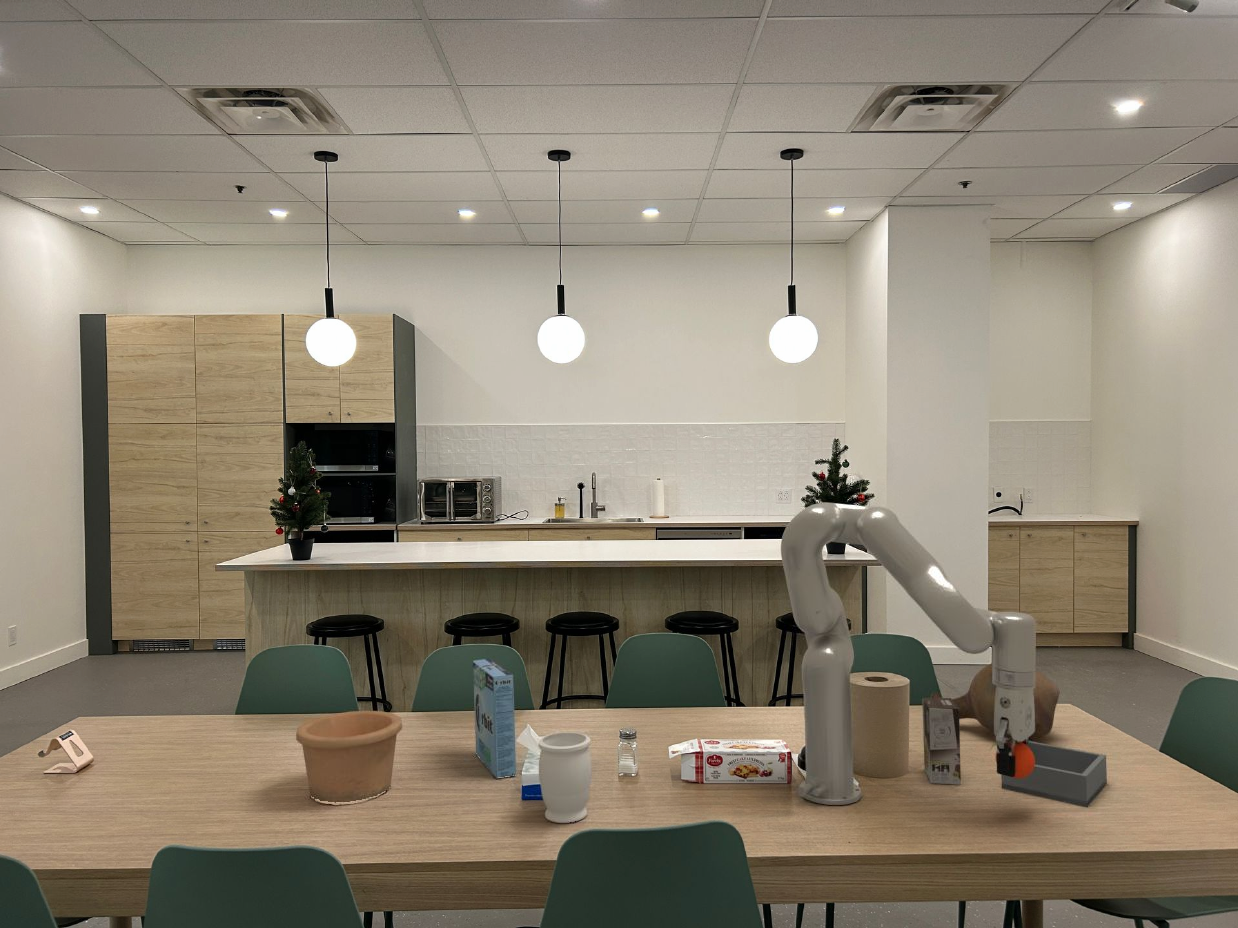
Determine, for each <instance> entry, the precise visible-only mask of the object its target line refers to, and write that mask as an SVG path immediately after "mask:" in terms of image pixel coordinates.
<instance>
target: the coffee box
mask: <svg viewBox="0 0 1238 928" xmlns="http://www.w3.org/2000/svg"><path fill="white" fill-rule="evenodd" d="M952 699H953V698H951V697H941V698H931V697H922V699H921V700H922V730H923V733H922V734H923V735H922V737H923V758H924V761H923V762H924V763H923V765H924V772H925V773H926V775H927V777H928V780H929V781H930V783H931V784H941V785H942V784H943V785H955V786H956V785H959V786H960V785H961V781H962V780H961V779H962V778H961V776H962V775H961V739H960V738H961V737H960V735H961V729H960V726H961V725H960V719H959V708H958V706H957V705H956V704H955V703H954V701H953V700H952Z"/></svg>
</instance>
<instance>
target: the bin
mask: <svg viewBox="0 0 1238 928" xmlns="http://www.w3.org/2000/svg"><path fill="white" fill-rule="evenodd" d="M1027 746H1028V747H1029V748H1030V750H1031V751H1032V752H1033V755H1034V757H1035V766H1034V769H1033V771H1032V772H1031V773H1030V774H1029V775H1028V776H1026V777H1024V778H1012V777H1009V776H1005V775H1001V774H1000V776H1001V778H1000V779H1001V789H1004V790H1007V791H1008V790H1009V791H1012V792H1016V793H1021V794H1026V795H1030V796H1035V797H1040V798H1045V799H1049V800H1053V801H1057V802H1062V803H1066V804H1070V805H1074V806H1075V805H1076V806H1080V807H1085V808H1088V807H1089V806H1090V805H1091V803H1092V802H1093V801H1094V800H1095V798H1097V796H1098V795H1099V794H1100V793H1101V791H1102V790H1103V789H1104V788H1105V787H1106V785H1107V784H1108V778H1107V777H1108V775H1107V754H1103V753H1099V752H1097V753H1096V752H1091V751H1086V750H1082V749H1081V750H1080V749H1074V748H1071V747H1070V748H1069V747H1065V746H1064V747H1063V746H1060V745H1052V744H1048V743H1042V742H1041V743H1040V742H1038V741H1037V742H1036V741H1031V740H1028V745H1027Z"/></svg>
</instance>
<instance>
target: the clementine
mask: <svg viewBox="0 0 1238 928" xmlns="http://www.w3.org/2000/svg"><path fill="white" fill-rule="evenodd" d="M1005 743H1008V745H1009V748H1010V742H1005ZM996 744H997V742H996V743H994V744H993V745H992V746H991V747H990V750H989V751H991V750H992V748H993V747H994V746H997V745H996ZM1013 755H1014V756H1015V776H1014V777H1012V778H1024V777H1026V776H1028V775H1029V774H1030V773H1031V772H1032V771H1033V769H1034V766H1035V757H1034V755H1033V752H1032V751H1031V750H1030V748H1029V747H1028V746H1027V745H1025V744H1024V743H1022V742H1020V743H1019V742H1017V741H1015V748H1014V754H1013ZM995 763H996V764H997V750H996V752H995Z"/></svg>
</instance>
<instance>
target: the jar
mask: <svg viewBox="0 0 1238 928" xmlns="http://www.w3.org/2000/svg"><path fill="white" fill-rule="evenodd" d="M537 742H538V748H539V749H540V754H539V760H538V778H539V779H538V780H539V784H540V790H541V795H542V800H543V803H544V805H545V808H547V809H546V810H545V812H544V817H545V818H546V820H548V821H549V822H552V823H557V824H570V822H571V823H575V821H576V822H579V821H581V820H583V819H585V818H586V817H587V815H588V809H587V807H586V805H587V803H588V799H589V795H590V791H591V790H590V788H591V782H592V769H593V767H592V758H591V753H590V749H589V747H590V745H591V743H592V741H591V737H590V735H587V734H584V733H581V732H573V731H569V732H568V731H565V732H562V731H561V732H554V733H551V734H547V735H544V736H542V737H540V738H539V739H538V741H537Z"/></svg>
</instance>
